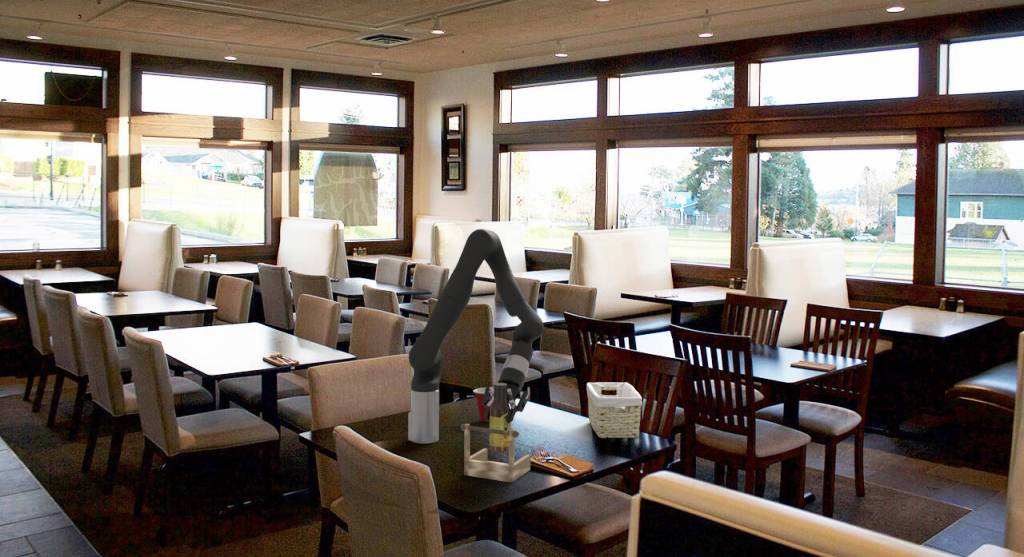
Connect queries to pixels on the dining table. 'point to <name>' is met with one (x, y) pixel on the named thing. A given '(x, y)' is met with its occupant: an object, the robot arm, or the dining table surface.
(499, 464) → the wooden table caddy
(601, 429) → the storage basket
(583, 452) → the dining table surface
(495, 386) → the sauce bottle
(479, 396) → the plastic cup
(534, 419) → the dining table surface
